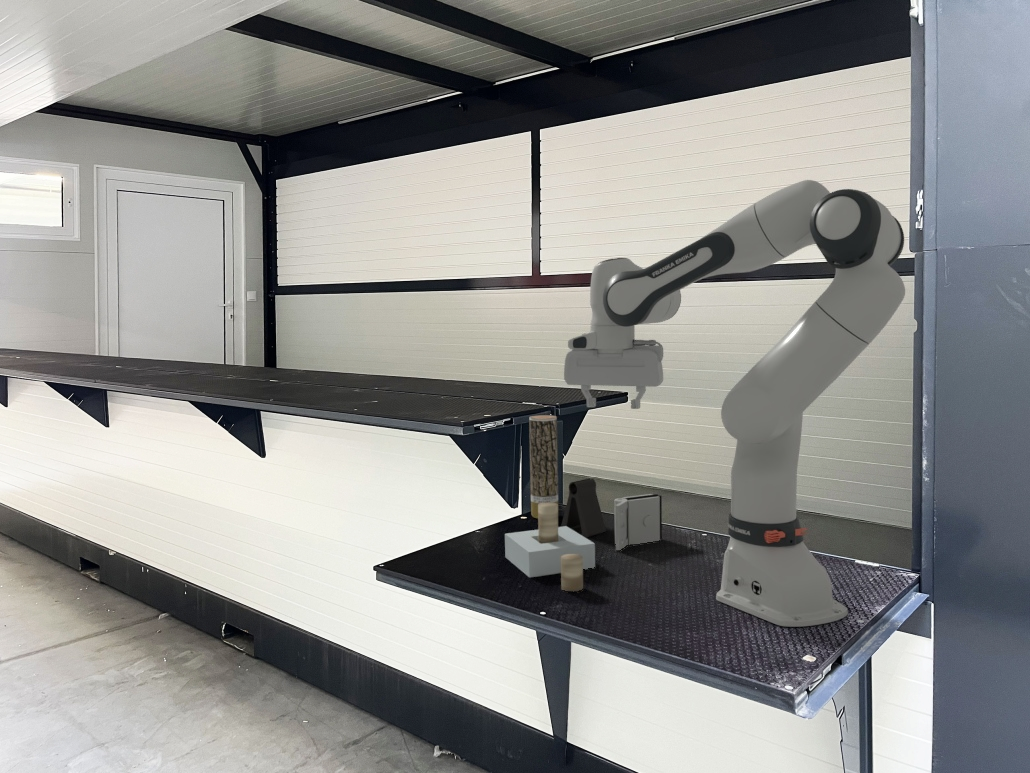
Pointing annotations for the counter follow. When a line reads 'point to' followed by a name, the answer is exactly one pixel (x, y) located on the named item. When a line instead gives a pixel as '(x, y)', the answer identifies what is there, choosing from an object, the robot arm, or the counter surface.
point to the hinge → (637, 519)
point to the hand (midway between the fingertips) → (613, 407)
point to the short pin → (571, 572)
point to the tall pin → (548, 522)
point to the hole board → (547, 551)
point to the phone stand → (583, 509)
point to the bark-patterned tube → (543, 461)
